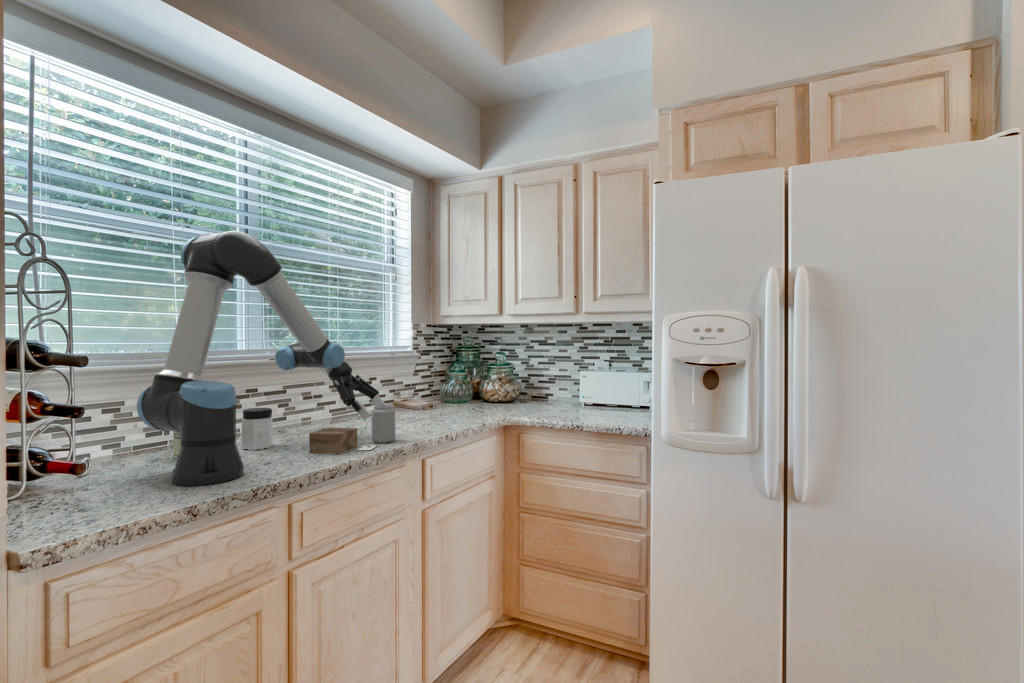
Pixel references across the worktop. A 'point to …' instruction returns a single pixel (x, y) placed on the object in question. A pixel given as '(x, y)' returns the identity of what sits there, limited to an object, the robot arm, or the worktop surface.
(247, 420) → the jar
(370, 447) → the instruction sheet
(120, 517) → the worktop surface
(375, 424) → the can
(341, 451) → the walnut block
